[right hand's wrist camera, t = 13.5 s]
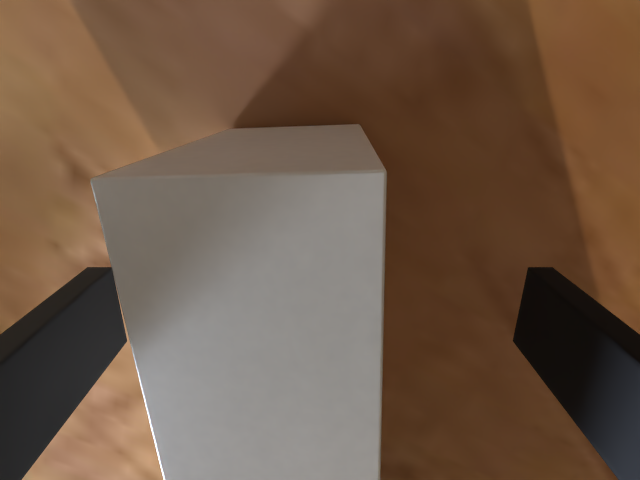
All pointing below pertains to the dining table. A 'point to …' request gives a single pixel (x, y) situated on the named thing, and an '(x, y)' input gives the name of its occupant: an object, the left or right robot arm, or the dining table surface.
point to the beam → (255, 300)
